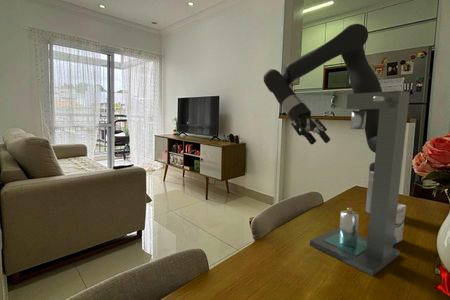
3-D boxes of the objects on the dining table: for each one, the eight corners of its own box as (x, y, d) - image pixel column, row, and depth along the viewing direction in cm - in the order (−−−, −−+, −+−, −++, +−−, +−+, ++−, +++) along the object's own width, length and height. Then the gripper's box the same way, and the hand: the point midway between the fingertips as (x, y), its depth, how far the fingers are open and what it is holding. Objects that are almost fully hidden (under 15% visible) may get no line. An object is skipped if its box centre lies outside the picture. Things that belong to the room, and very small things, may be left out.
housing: (344, 236, 77) (345, 204, 76) (359, 242, 73) (362, 208, 72) (335, 241, 74) (337, 207, 73) (352, 247, 70) (354, 212, 69)
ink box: (390, 247, 74) (395, 200, 72) (372, 240, 78) (377, 196, 76) (402, 240, 79) (407, 195, 77) (385, 233, 83) (390, 191, 81)
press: (338, 231, 84) (348, 97, 78) (398, 255, 70) (417, 93, 64) (306, 246, 74) (315, 94, 68) (369, 278, 60) (387, 88, 54)
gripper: (289, 101, 87) (316, 136, 79) (313, 102, 95) (340, 134, 87) (277, 116, 92) (301, 150, 84) (301, 116, 100) (325, 147, 92)
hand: (321, 142), depth 86 cm, fingers open, 8 cm apart
